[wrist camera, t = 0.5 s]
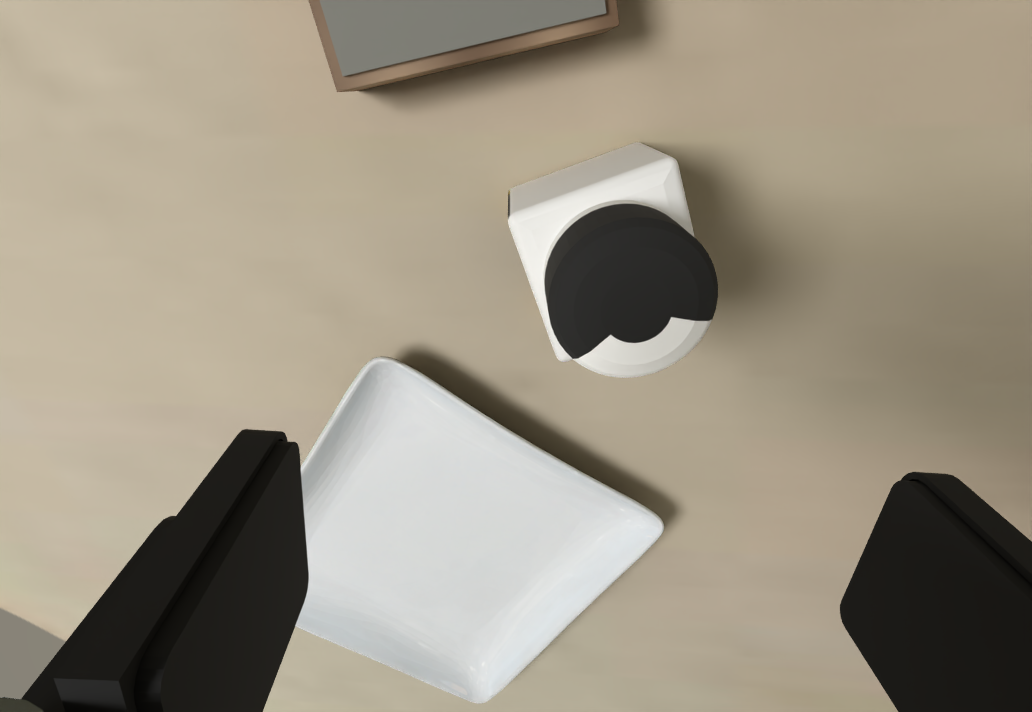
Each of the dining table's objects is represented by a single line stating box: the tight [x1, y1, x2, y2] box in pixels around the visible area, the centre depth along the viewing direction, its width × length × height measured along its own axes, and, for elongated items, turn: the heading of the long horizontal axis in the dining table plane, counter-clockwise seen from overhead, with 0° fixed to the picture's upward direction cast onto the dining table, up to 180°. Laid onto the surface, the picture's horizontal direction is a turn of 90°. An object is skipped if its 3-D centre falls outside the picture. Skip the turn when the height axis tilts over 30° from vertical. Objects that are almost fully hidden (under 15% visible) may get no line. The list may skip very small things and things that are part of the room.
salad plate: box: [295, 356, 664, 704], centre depth 38 cm, size 21×21×3 cm
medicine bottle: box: [508, 142, 718, 378], centre depth 25 cm, size 7×7×12 cm
